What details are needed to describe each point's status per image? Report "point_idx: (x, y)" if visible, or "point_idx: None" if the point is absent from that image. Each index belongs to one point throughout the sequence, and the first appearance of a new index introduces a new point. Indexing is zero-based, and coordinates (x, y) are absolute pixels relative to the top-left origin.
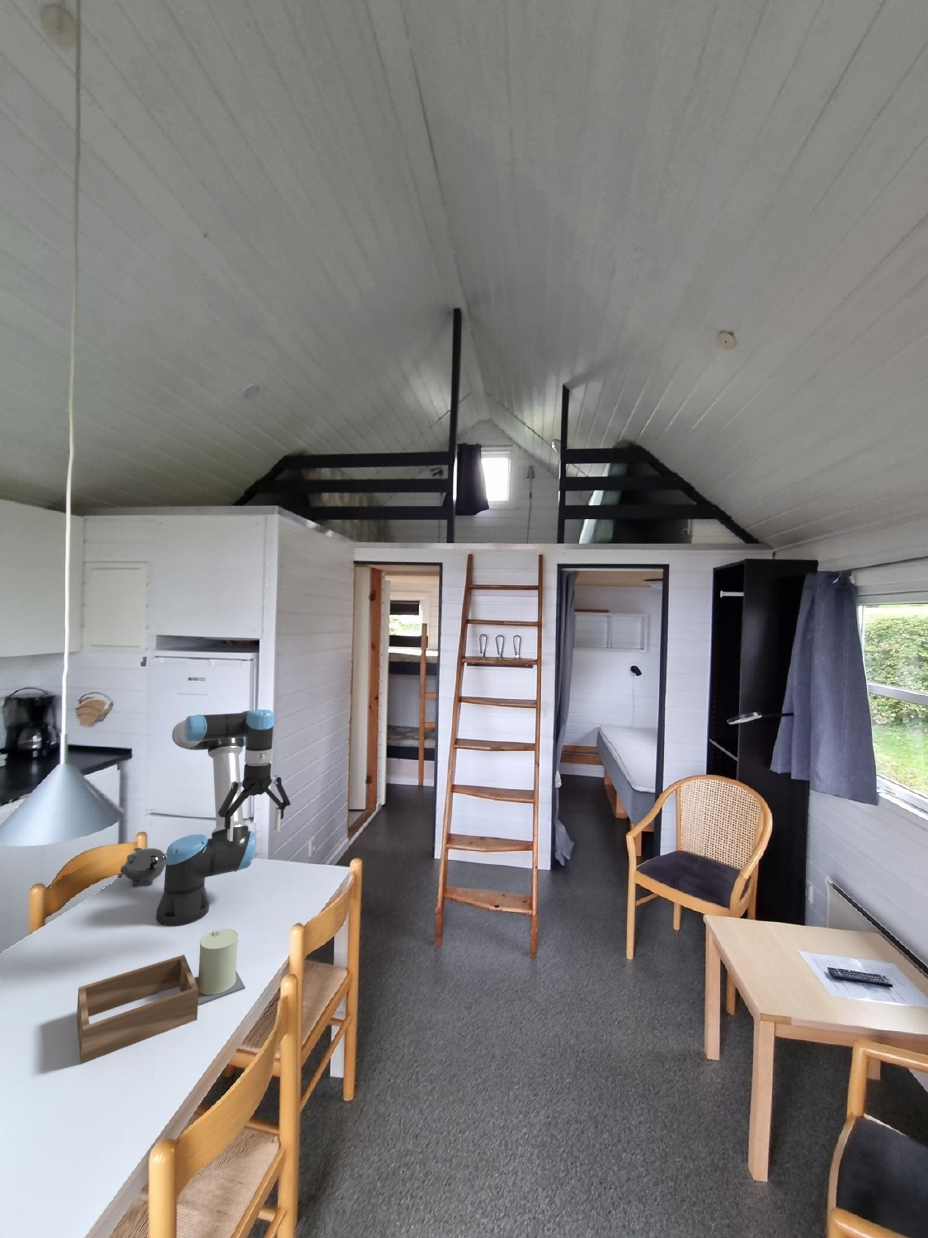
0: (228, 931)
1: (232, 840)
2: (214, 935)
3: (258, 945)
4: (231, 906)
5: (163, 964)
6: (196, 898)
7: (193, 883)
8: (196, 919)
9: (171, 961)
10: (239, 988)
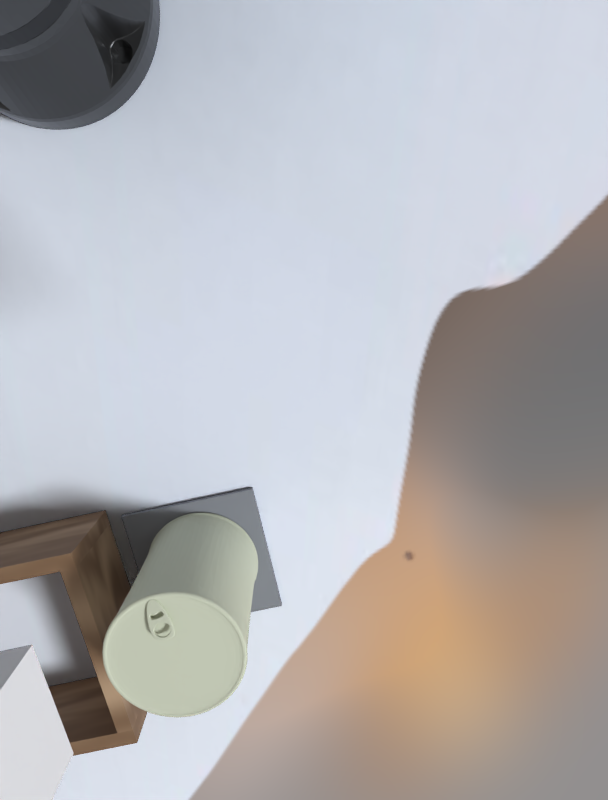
0: (209, 618)
1: (70, 759)
2: (155, 628)
3: (342, 396)
4: (260, 25)
5: (9, 580)
6: (69, 54)
7: (5, 15)
8: (110, 111)
9: (33, 576)
10: (266, 606)
